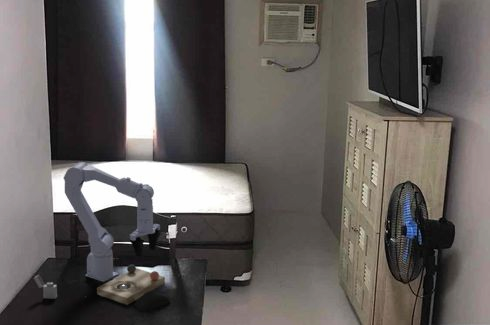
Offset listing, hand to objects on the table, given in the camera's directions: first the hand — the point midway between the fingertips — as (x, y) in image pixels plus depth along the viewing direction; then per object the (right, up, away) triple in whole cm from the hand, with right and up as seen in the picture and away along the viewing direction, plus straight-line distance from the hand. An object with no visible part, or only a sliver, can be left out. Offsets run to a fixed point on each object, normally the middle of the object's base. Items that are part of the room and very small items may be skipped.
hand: (145, 252), depth 196 cm
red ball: (+4, -7, -6) cm, 10 cm away
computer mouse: (+6, -15, -18) cm, 24 cm away
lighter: (-31, -13, -15) cm, 37 cm away
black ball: (-5, -6, 0) cm, 8 cm away
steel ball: (-6, -11, -11) cm, 17 cm away
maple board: (-4, -12, -7) cm, 14 cm away
